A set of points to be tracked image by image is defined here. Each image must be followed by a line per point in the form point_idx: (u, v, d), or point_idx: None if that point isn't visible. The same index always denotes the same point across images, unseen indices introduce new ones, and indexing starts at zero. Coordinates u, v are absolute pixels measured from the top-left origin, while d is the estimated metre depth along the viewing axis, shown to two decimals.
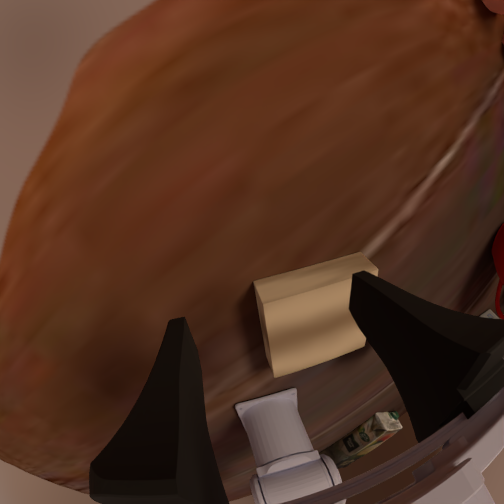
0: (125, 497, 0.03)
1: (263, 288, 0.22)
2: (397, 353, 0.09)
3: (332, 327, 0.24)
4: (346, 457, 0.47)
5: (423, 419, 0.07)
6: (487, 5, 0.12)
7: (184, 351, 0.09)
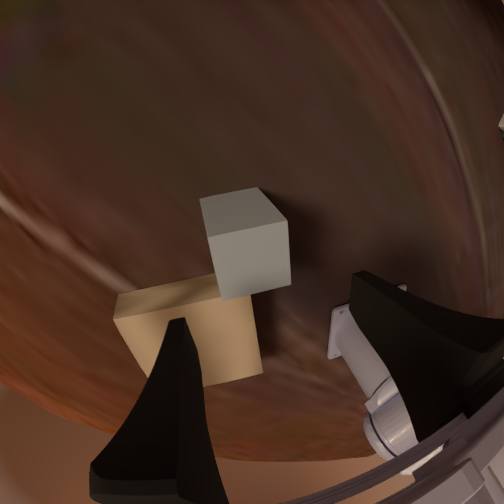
0: (125, 497, 0.03)
1: None
2: (397, 353, 0.09)
3: None
4: None
5: (423, 419, 0.07)
6: None
7: (184, 351, 0.09)
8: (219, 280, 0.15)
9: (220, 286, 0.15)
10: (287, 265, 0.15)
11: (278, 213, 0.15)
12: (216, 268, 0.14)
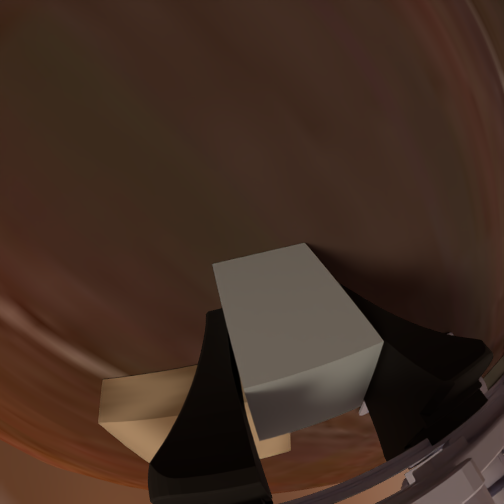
0: (199, 494, 0.04)
1: None
2: None
3: None
4: None
5: (389, 439, 0.07)
6: None
7: (228, 341, 0.09)
8: (258, 426, 0.08)
9: (259, 430, 0.08)
10: (363, 390, 0.08)
11: (362, 319, 0.08)
12: (255, 417, 0.07)
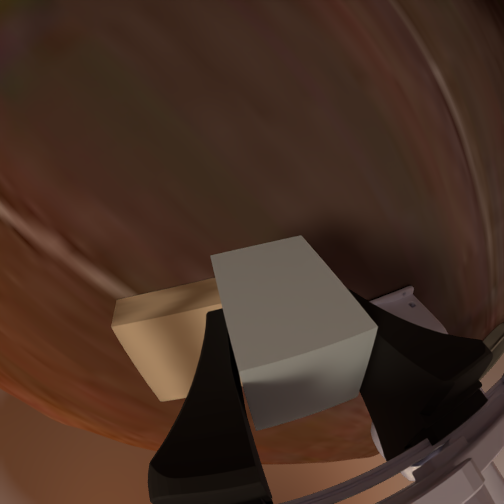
0: (199, 494, 0.04)
1: None
2: None
3: (196, 353, 0.20)
4: None
5: (389, 439, 0.07)
6: None
7: (228, 341, 0.09)
8: (254, 414, 0.08)
9: (255, 419, 0.08)
10: (359, 379, 0.09)
11: (356, 306, 0.08)
12: (251, 403, 0.08)
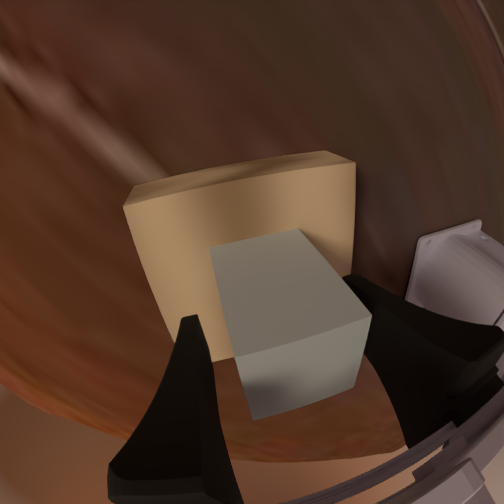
0: (148, 497, 0.03)
1: None
2: (386, 358, 0.09)
3: None
4: None
5: (413, 426, 0.07)
6: None
7: (199, 348, 0.09)
8: (251, 402, 0.08)
9: (252, 408, 0.08)
10: (355, 369, 0.09)
11: (351, 295, 0.08)
12: (247, 391, 0.08)
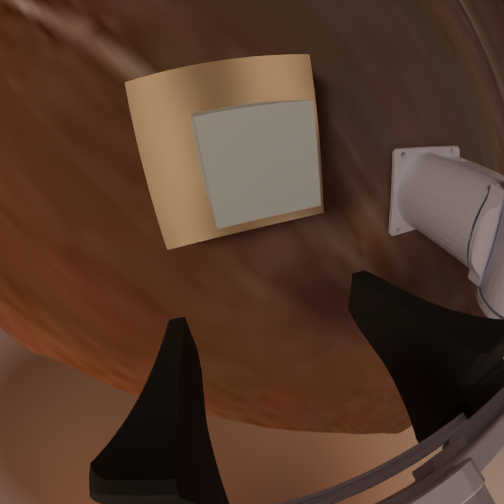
0: (125, 497, 0.03)
1: None
2: (397, 353, 0.09)
3: None
4: None
5: (423, 419, 0.07)
6: None
7: (184, 351, 0.09)
8: (212, 191, 0.09)
9: (214, 202, 0.09)
10: (315, 172, 0.10)
11: (297, 100, 0.09)
12: (207, 169, 0.09)
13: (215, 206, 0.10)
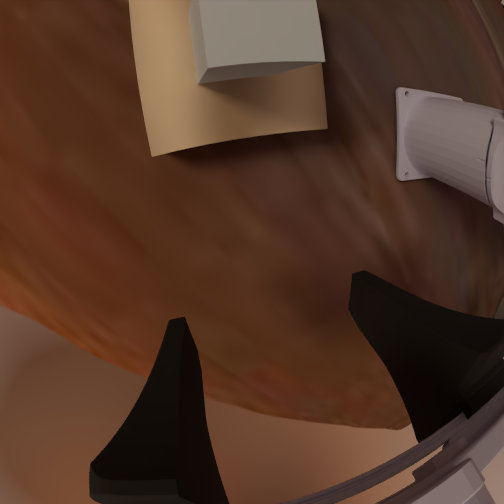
0: (125, 497, 0.03)
1: None
2: (397, 353, 0.09)
3: None
4: None
5: (423, 419, 0.07)
6: None
7: (184, 351, 0.09)
8: (206, 29, 0.07)
9: (206, 39, 0.07)
10: (316, 28, 0.07)
11: None
12: (202, 9, 0.06)
13: (208, 44, 0.07)
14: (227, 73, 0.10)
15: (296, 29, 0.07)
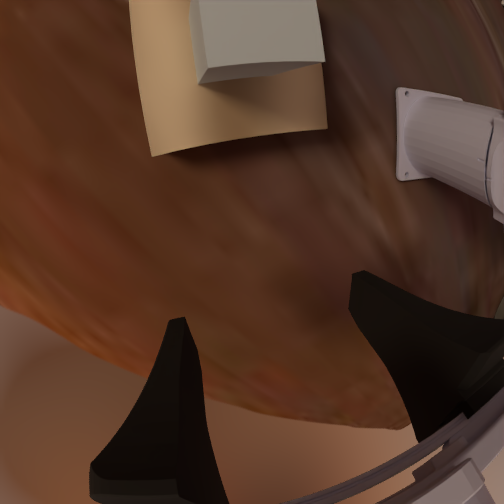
0: (125, 497, 0.03)
1: None
2: (397, 353, 0.09)
3: None
4: None
5: (423, 419, 0.07)
6: None
7: (184, 351, 0.09)
8: (206, 29, 0.07)
9: (206, 39, 0.07)
10: (316, 28, 0.07)
11: None
12: (202, 9, 0.06)
13: (208, 44, 0.07)
14: (227, 73, 0.10)
15: (296, 29, 0.07)
